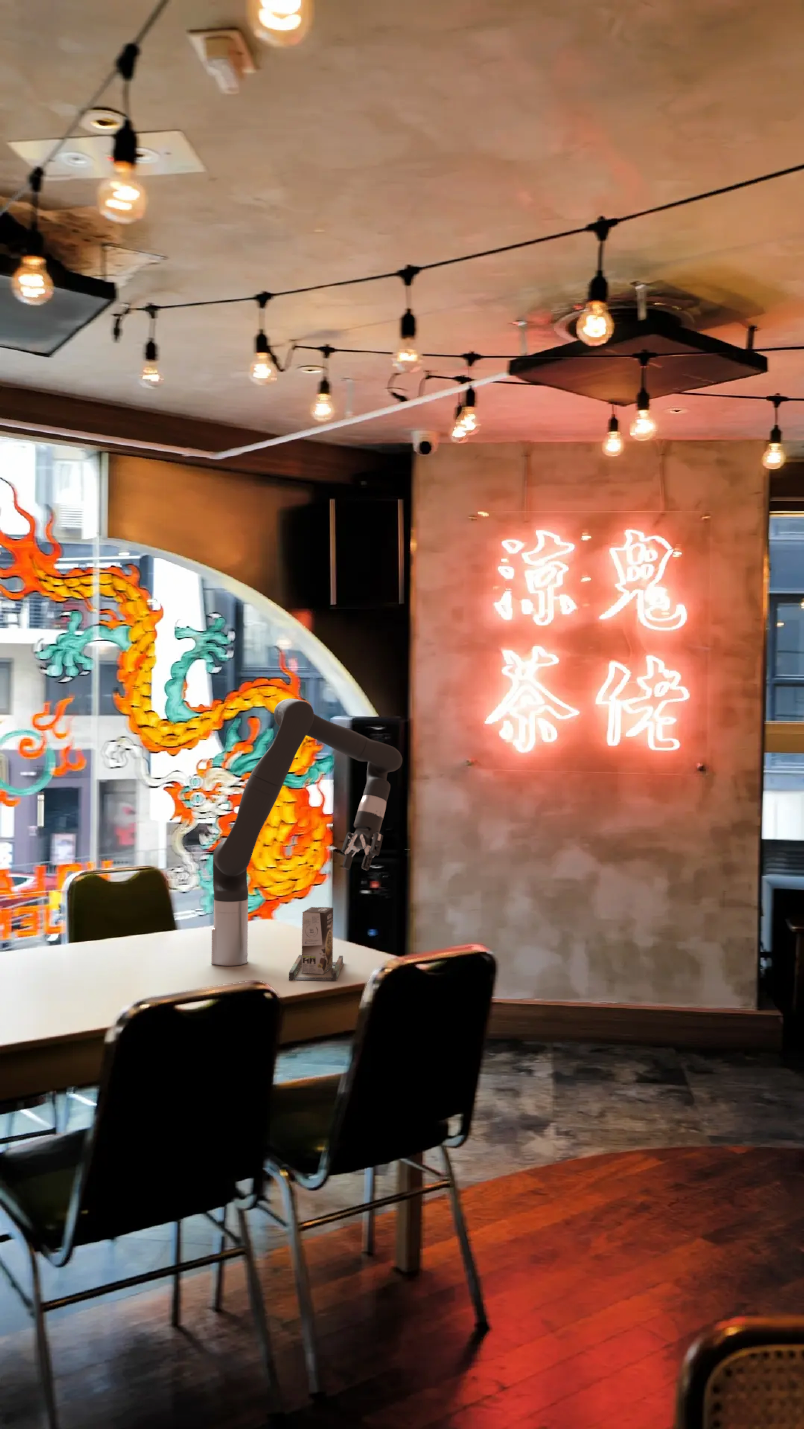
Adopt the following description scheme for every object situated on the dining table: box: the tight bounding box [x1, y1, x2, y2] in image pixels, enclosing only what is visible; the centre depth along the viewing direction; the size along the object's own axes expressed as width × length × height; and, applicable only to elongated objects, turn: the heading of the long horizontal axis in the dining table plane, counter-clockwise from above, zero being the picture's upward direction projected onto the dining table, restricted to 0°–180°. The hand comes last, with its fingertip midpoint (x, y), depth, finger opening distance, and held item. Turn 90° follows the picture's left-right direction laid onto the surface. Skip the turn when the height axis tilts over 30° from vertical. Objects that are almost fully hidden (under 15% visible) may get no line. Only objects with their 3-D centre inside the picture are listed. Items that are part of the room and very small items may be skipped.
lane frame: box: [288, 954, 344, 982], centre depth 298 cm, size 12×21×2 cm, turn 178°
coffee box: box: [301, 906, 334, 975], centre depth 299 cm, size 9×6×16 cm
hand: (355, 869), depth 315 cm, fingers open, 8 cm apart
